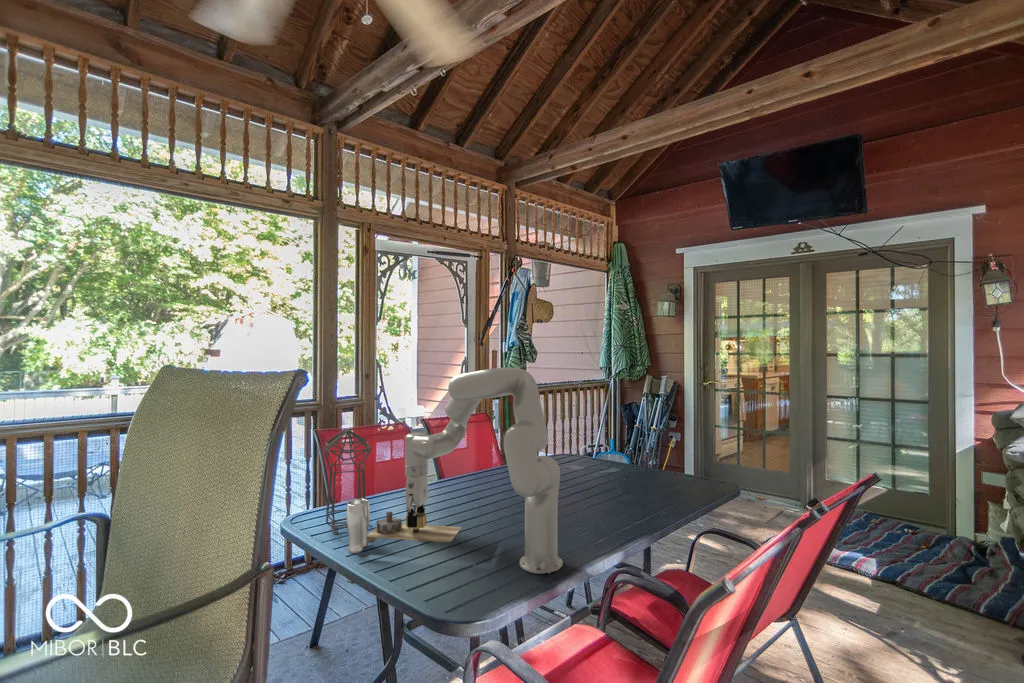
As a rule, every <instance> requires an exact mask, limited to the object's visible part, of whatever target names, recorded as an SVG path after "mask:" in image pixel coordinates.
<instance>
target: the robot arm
mask: <svg viewBox="0 0 1024 683" xmlns="http://www.w3.org/2000/svg"><path fill="white" fill-rule="evenodd" d="M447 388H448V389H447V391H448V393H449V396H450V398H449V400H448V401H447V403H446V404H445V407H444V412H445V414H446V416H447V417H448V418H449V421H448V422H447V425H446V426H445V428H444V429H443V430H442V431H441V432H437V433H434V434H429V435H427V434H426V433H425V432H409V433H408V434H406V435H405V437H404V446H405V447H404V455H405V456H404V476H405V477H406V482H405V505H406V506H405V509H406V516H407V526H408V527H415V528H416V527H417V515H416V512H417V513H422V512H423V513H424V514H426V510H425V509H426V508H425V507H426V502H427V501H428V499H429V484H428V482H429V481H428V471H429V470H428V465H429V464H428V463H429V462H428V461H429V460H431V459H435V458H439V457H443V456H444V455H445V456H446V455H448V454H451V453H452V452H453V451H454V450H456V448H457V447H458V446H459V444H460V443H461V442H462V440H463V438H465V435H466V432H467V428H468V421H469V419H470V418H471V416H472V415H473V413H474V411H475V410H476V409H477V408H478V406H479V405H480V403H481V402H482V400H484V399H493V398H498V397H500V398H501V397H506V396H512V397H513V402H512V411H513V415H514V420H515V424H512V425H511V426H510V427H508V429H507V430H506V431H505V432H504V436H503V450H504V455H505V460H506V464H507V470H508V475H509V478H510V483H511V486H512V488H513V489H514V491H515V492H516V493H517V494H518V495H519V496H521V497H524V498H525V499H524V555H523V556H522V557H520V559H519V566H520V568H521V569H522V570H524V571H525V572H528V573H531V574H537V575H539V574H540V575H543V574H544V575H546V574H545V573H548V574H552V573H551V572H554V571H556V572H558V571H560V570H561V569H562V568H563V567H562V566H564V563H563V559H562V558H560V557H559V556H558V511H559V510H558V508H559V507H558V504H559V503H558V502H559V488H560V483H561V471H560V470H561V469H560V466H559V464H558V462H557V461H556V460H555V459H554V458H552V457H551V456H548V455H537V453H539V452H540V451H542V450H544V449H545V448H546V447H547V445H548V443H549V435H548V434H549V433H548V429H547V425H546V421H545V415H544V410H543V407H542V402H541V398H540V392H539V388H538V384H537V382H536V380H535V378H534V376H533V375H532V374H531V373H529V372H528V371H527V370H525V369H522V368H519V367H512V366H511V367H506V366H505V367H496V368H487V369H481V370H476V371H470V372H464V373H457V374H456V375H454V376H453V377H452V378H451V379H450V381H449V383H448V387H447ZM561 567H562V568H561ZM560 568H561V569H560ZM559 569H560V570H559ZM557 570H558V571H557ZM554 573H555V572H554Z"/></svg>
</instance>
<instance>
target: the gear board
mask: <svg viewBox="0 0 1024 683" xmlns="http://www.w3.org/2000/svg"><path fill="white" fill-rule="evenodd" d="M416 515H417V517H419V513H416ZM402 521H403V519H402V518H396V517H394V516H393V511H386V516H385V517H384V518H382V519H379V520H377V521H376V527H375V528H374V529H373V530H371V531H370V532H368V533H367V543H368V542H369V543H370V542H371V543H374V542H375V541H376V540H377V539H378V538H379V539H392V540H409V541H411V540H412V541H424V542H437V543H440V542H441V543H451V542H452V541H453V540H454V539H455V537H456V536H457V534H458V533H459V531H460V530H461V529H462V527H460V526H448V525H447V526H445V525H444V526H443V525H429V524H426V525H425V527H424V528H418V529H408V527H406V523H403V522H402Z"/></svg>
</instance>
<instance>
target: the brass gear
mask: <svg viewBox="0 0 1024 683" xmlns="http://www.w3.org/2000/svg"><path fill="white" fill-rule="evenodd" d="M416 513H417V512H416ZM405 524H406V527H408V526H407V515H405ZM425 525H427V513H425V514H424V513H423V512H422V513H419V517H417V527H416V528H415V527H408V529H418V528H424V527H425Z"/></svg>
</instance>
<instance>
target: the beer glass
mask: <svg viewBox="0 0 1024 683" xmlns="http://www.w3.org/2000/svg"><path fill="white" fill-rule="evenodd" d="M346 503H347V505H346V509H347V511H346V518H347V519H346V522H347V523H346V524H347V525H346V527H348V528H347V532H348V537H349V538H348V539H349V540H348V547H347V552H348V553H350V554H354V555H355V554H361V553H362V552H364V550H366V549H367V548H368V546H369V545H368V542H367V535H368V530H369V525H370V524H369V523H370V516H371V515H370V514H371V513H370V500H369V499H363V498H361V499H358V498H357V499H355V498H354V499H351V500H349V501H348V502H346Z"/></svg>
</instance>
